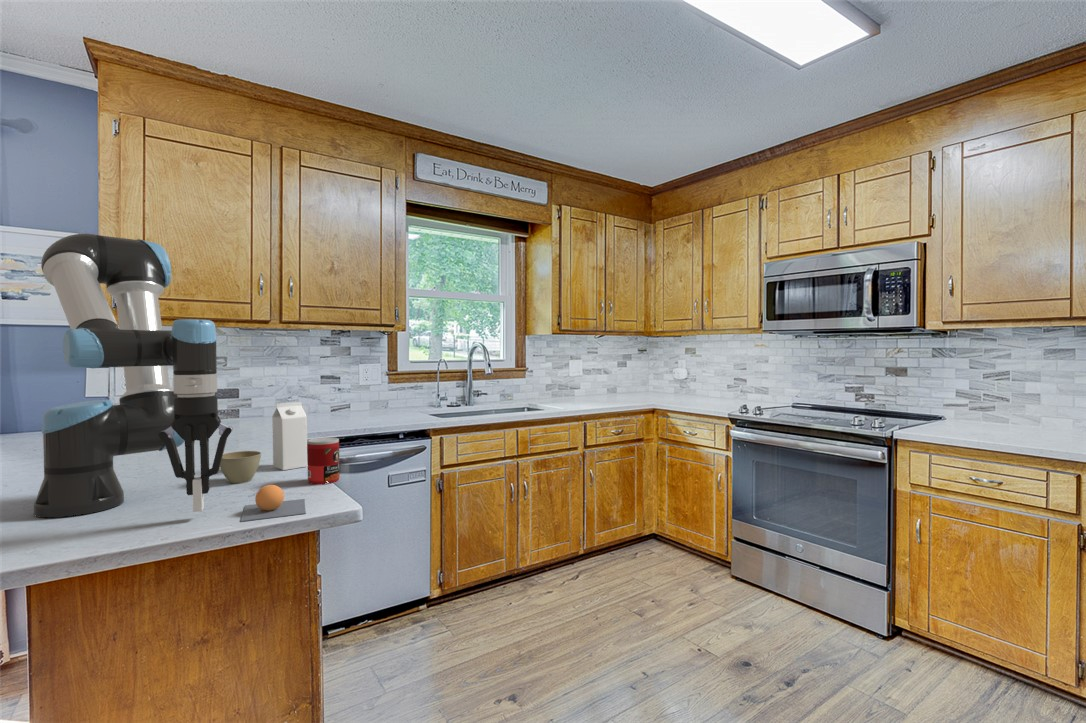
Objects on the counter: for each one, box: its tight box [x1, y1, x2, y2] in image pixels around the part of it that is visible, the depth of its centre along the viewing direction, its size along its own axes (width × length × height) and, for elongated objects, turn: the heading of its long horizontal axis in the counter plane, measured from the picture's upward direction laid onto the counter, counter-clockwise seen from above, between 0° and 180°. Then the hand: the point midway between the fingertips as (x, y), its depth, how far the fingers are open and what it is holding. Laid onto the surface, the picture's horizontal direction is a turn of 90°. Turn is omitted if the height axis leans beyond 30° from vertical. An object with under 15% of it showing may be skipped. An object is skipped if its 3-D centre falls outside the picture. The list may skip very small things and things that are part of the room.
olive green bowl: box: [219, 450, 262, 484], centre depth 143 cm, size 10×10×7 cm
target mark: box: [240, 498, 307, 523], centre depth 117 cm, size 12×12×1 cm
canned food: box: [307, 436, 341, 485], centre depth 143 cm, size 8×8×11 cm
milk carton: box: [271, 401, 308, 471], centre depth 160 cm, size 7×7×19 cm
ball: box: [254, 484, 285, 511], centre depth 117 cm, size 6×6×6 cm
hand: (198, 509), depth 111 cm, fingers closed
